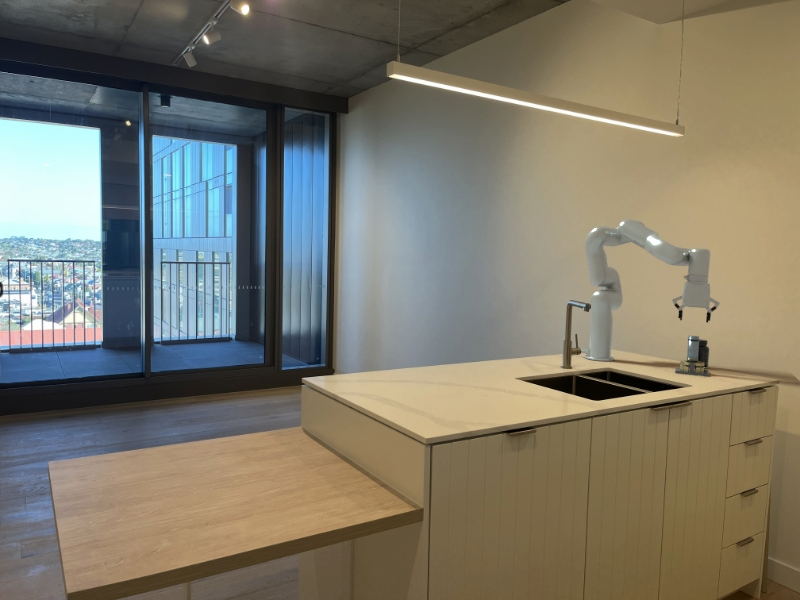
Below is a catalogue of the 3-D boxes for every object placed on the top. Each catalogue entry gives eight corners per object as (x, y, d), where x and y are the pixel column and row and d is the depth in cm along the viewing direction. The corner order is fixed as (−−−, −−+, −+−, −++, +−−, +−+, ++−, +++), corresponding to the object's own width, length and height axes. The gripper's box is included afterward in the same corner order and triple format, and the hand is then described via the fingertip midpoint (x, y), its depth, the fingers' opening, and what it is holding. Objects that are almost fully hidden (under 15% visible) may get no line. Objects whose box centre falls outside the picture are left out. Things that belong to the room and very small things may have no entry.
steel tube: (686, 370, 249) (688, 336, 248) (686, 369, 252) (688, 335, 252) (697, 371, 247) (699, 337, 246) (697, 370, 251) (699, 336, 250)
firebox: (675, 373, 247) (675, 362, 247) (675, 369, 258) (676, 358, 257) (708, 376, 242) (709, 365, 241) (707, 372, 252) (708, 361, 252)
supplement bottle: (687, 366, 268) (688, 338, 267) (698, 365, 271) (699, 338, 270) (700, 368, 262) (702, 340, 261) (711, 368, 265) (713, 340, 264)
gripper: (674, 278, 248) (670, 320, 249) (722, 280, 240) (718, 324, 242) (674, 277, 255) (671, 318, 256) (721, 280, 247) (717, 322, 248)
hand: (693, 321), depth 249 cm, fingers open, 9 cm apart
